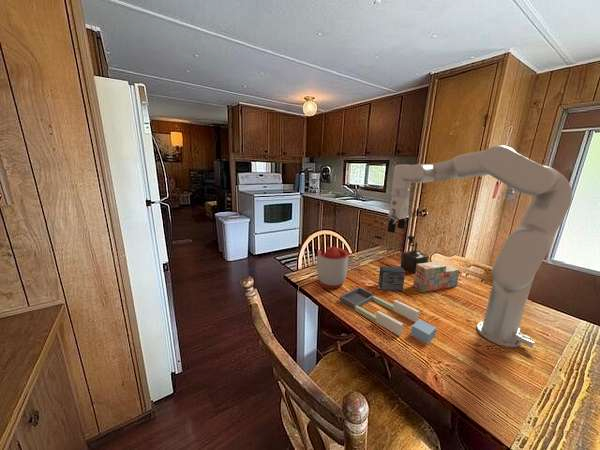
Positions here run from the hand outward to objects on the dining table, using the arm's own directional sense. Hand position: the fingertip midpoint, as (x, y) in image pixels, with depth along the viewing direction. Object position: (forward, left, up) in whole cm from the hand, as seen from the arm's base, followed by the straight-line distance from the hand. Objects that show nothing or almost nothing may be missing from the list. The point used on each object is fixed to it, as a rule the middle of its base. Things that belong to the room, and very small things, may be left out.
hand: (396, 230), depth 112 cm
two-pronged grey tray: (-7, +21, -30) cm, 37 cm away
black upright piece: (+6, -33, -30) cm, 46 cm away
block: (-26, +21, -30) cm, 45 cm away
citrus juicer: (+22, +19, -30) cm, 42 cm away
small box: (0, -1, -30) cm, 30 cm away
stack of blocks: (-13, -21, -31) cm, 39 cm away
